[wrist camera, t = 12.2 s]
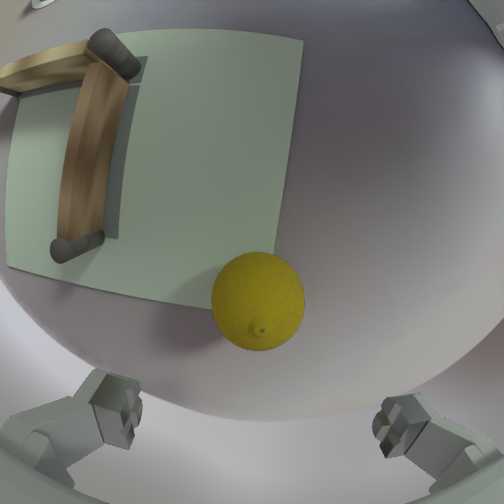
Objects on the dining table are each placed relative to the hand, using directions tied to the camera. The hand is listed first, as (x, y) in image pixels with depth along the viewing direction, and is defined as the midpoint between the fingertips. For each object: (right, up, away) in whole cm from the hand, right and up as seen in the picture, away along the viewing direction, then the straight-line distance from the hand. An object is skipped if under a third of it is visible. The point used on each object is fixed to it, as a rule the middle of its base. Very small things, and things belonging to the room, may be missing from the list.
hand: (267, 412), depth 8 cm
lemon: (0, +3, +13) cm, 14 cm away
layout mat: (-11, +13, +11) cm, 20 cm away
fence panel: (-11, +12, +10) cm, 19 cm away
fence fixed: (-17, +20, +9) cm, 28 cm away
